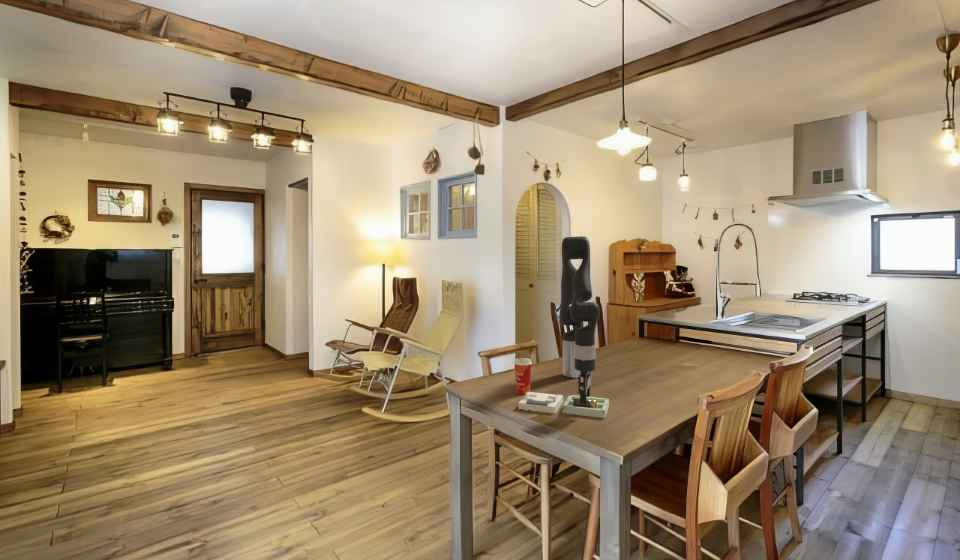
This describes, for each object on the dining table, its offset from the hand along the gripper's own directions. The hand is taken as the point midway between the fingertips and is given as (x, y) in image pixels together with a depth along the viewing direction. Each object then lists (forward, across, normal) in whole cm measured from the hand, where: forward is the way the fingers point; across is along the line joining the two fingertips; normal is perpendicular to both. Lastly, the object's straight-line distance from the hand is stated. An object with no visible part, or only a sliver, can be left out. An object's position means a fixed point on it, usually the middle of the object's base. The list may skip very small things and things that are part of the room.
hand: (585, 400), depth 167 cm
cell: (+3, 0, 0) cm, 3 cm away
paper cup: (+5, -15, -28) cm, 32 cm away
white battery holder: (+4, -2, -17) cm, 18 cm away
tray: (+4, -3, 0) cm, 5 cm away
